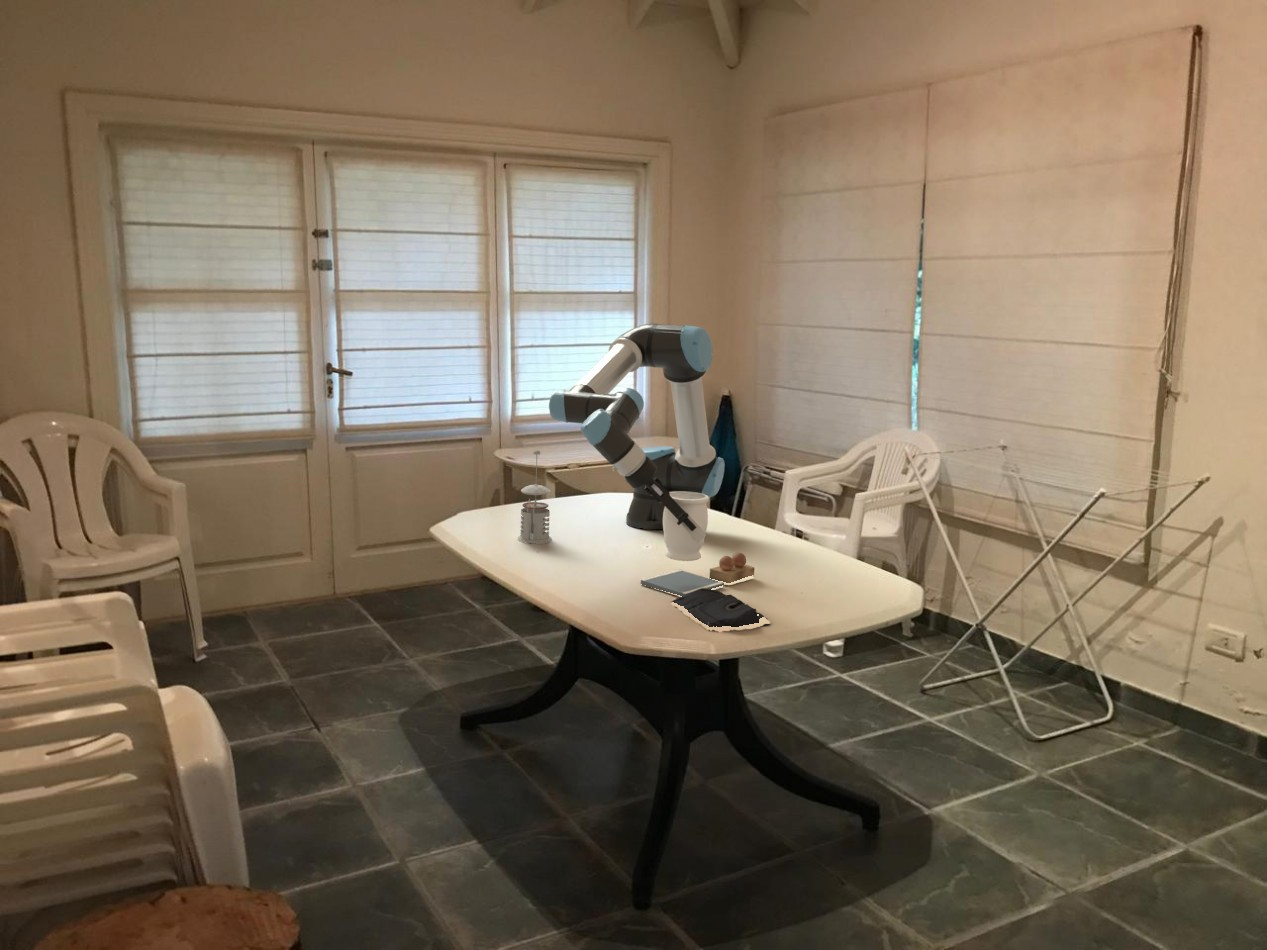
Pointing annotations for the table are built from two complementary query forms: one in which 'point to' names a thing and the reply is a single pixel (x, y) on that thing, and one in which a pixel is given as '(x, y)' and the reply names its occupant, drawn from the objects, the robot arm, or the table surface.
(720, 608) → the dark flat piece
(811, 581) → the table surface
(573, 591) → the table surface
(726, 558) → the ball rack
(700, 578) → the slate card
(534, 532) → the french press
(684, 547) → the jar
